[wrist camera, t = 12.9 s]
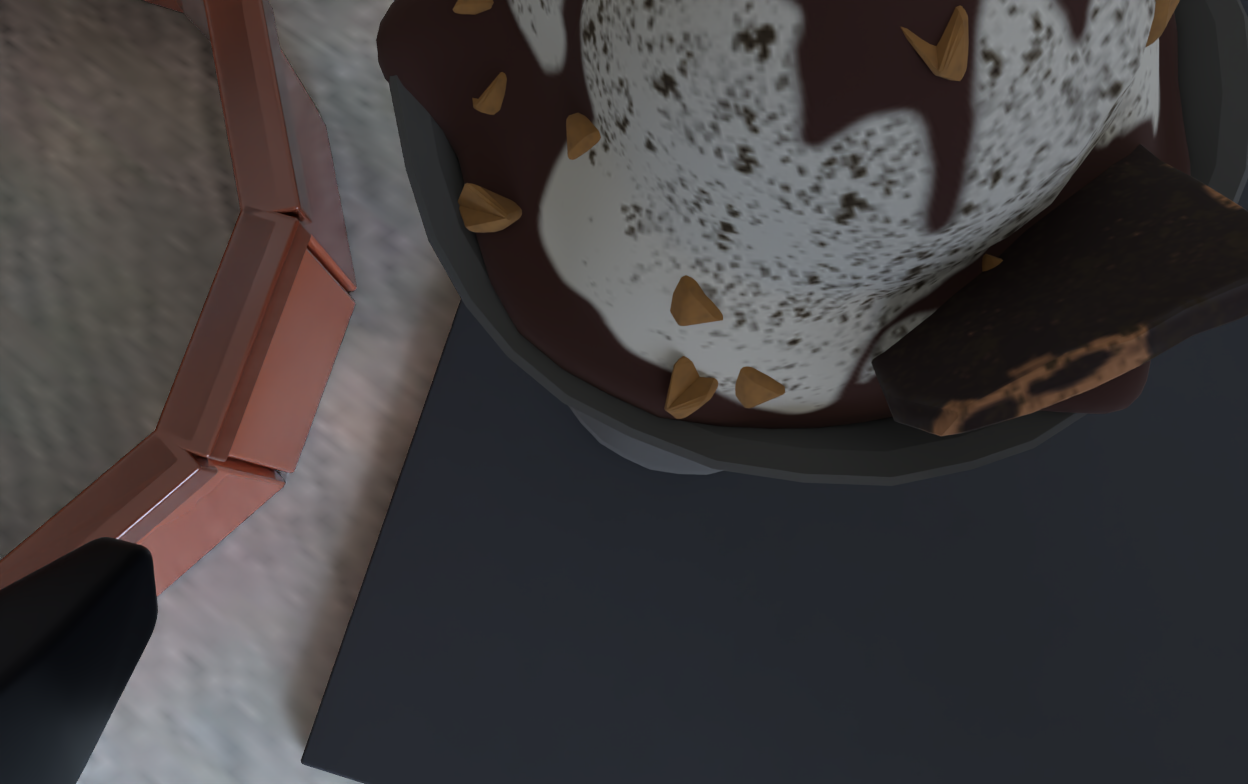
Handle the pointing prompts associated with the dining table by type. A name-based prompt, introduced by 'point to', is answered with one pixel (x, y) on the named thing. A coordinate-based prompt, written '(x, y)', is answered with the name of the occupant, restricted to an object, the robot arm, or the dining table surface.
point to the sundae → (830, 213)
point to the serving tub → (234, 327)
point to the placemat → (803, 604)
